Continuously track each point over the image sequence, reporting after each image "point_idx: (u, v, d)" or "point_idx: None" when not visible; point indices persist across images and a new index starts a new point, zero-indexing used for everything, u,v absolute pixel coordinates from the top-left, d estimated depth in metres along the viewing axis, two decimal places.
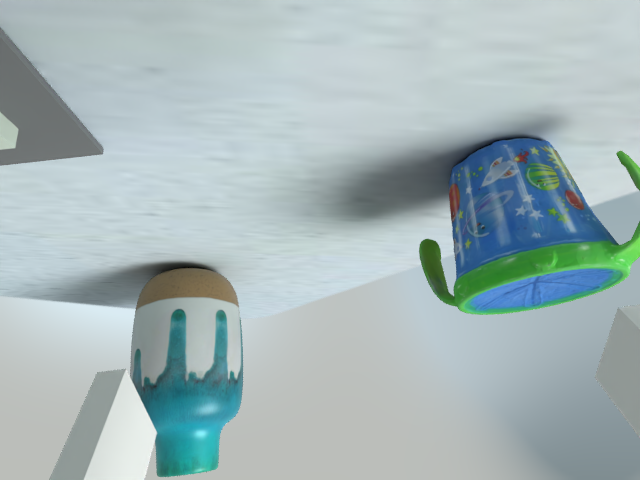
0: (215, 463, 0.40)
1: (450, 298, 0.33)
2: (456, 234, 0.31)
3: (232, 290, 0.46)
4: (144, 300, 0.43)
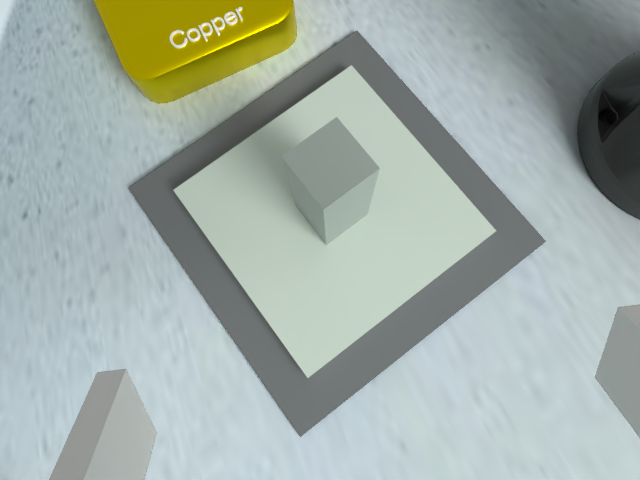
0: None
1: None
2: None
3: None
4: None
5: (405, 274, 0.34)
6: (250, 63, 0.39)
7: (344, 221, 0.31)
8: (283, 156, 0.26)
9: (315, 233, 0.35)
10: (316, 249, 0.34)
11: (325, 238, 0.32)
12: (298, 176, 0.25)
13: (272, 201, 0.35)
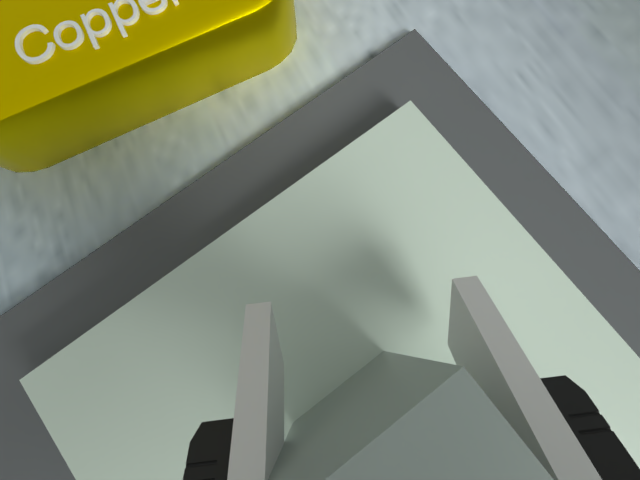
0: None
1: None
2: None
3: None
4: None
5: None
6: (204, 94, 0.20)
7: None
8: None
9: None
10: None
11: None
12: None
13: None
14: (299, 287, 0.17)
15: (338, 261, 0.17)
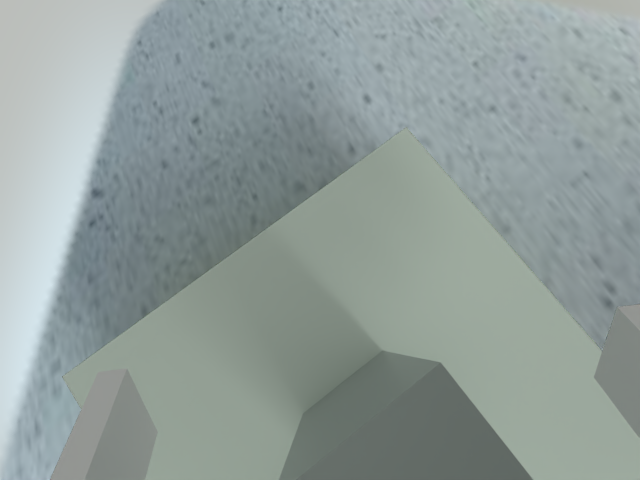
0: None
1: None
2: None
3: None
4: None
5: None
6: None
7: None
8: None
9: None
10: None
11: None
12: None
13: (257, 404, 0.18)
14: (308, 294, 0.19)
15: (343, 272, 0.19)
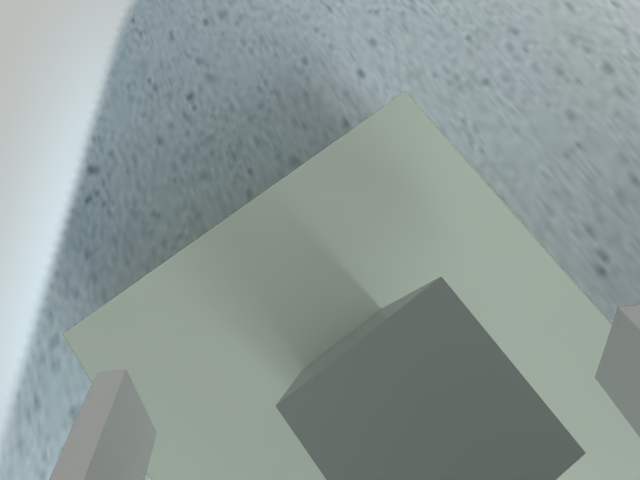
0: None
1: None
2: None
3: None
4: None
5: None
6: None
7: None
8: (282, 407, 0.08)
9: None
10: None
11: None
12: (329, 477, 0.08)
13: (257, 360, 0.18)
14: (307, 254, 0.19)
15: (342, 232, 0.19)
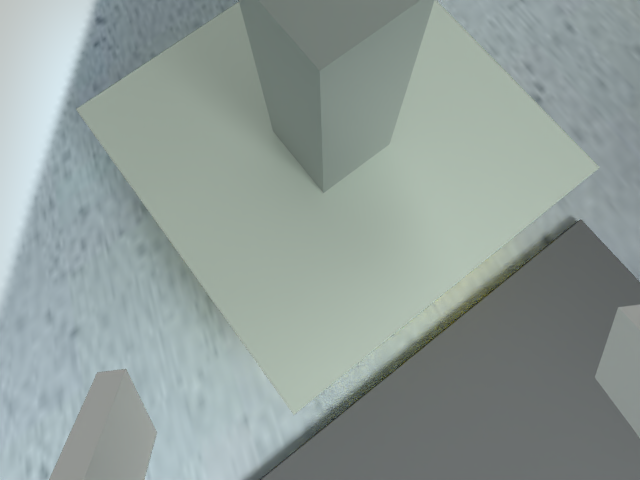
0: None
1: None
2: None
3: None
4: None
5: (454, 238, 0.20)
6: None
7: (355, 142, 0.18)
8: None
9: (305, 174, 0.21)
10: (308, 200, 0.21)
11: (322, 175, 0.19)
12: (265, 5, 0.12)
13: (235, 125, 0.22)
14: None
15: None
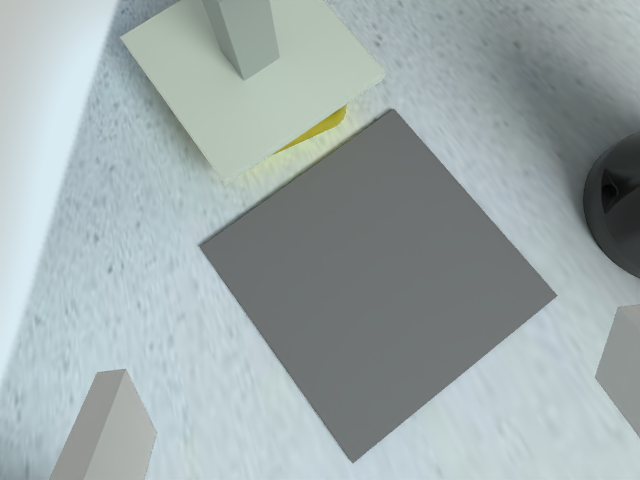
0: None
1: None
2: None
3: None
4: None
5: (308, 103, 0.41)
6: (306, 138, 0.46)
7: (253, 48, 0.38)
8: None
9: (236, 72, 0.42)
10: (236, 84, 0.41)
11: (239, 66, 0.39)
12: None
13: (201, 47, 0.42)
14: None
15: None
